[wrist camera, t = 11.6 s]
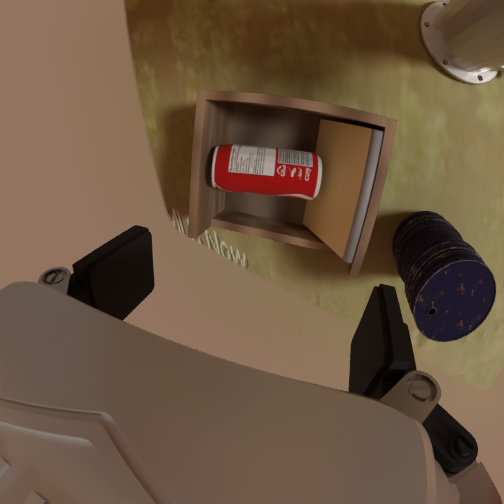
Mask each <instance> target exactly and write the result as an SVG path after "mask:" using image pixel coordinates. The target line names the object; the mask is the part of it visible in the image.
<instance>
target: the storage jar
mask: <svg viewBox="0 0 504 504" xmlns="http://www.w3.org/2000/svg"><path fill="white" fill-rule="evenodd" d="M392 248H393V254H394V258H395V262H396V266H397V269H398V273H399V275H400V277H401V279H402V280H403V282H404V283H405V293H406V297H407V300H408V303H409V307H410V309H411V312H412V314H413V317H414V321H415V324H416V326H417V328H418V330H419V331H420V333H421V334H422V335H423V336H425V337H426V338H428V339H430V340H433V341H438V342H449V341H454V340H457V339H460V338H463V337H465V336H467V335H468V334H470V333H471V332H473V331H474V330H475V329H477V328H478V327H479V326H480V325H481V324H482V323H483V322H484V320H485V319H486V318H487V316H488V315H489V313H490V311H491V309H492V307H493V304H494V301H495V297H496V282H495V278H494V276H493V274H492V272H491V271H490V269H489V268H488V267H487V266H486V265H485V263H484V261H483V260H482V258H481V257H480V256H479V254H478V253H477V252H476V251H475V250H474V248H473V247H472V246H471V245H469V244H468V243H466V242H464V241H463V239H462V237H461V235H460V234H459V232H458V231H457V230H456V229H455V228H454V227H453V226H452V225H451V224H450V223H449V222H448V221H446V220H445V219H444V218H443V217H442V216H440V215H439V214H437V213H434V212H430V211H421V212H417V213H414V214H412V215H410V216H408V217H407V218H406V219H405V220H404V221H403V222H402V223H401V224H400V225H399V227H398V228H397V230H396V232H395V235H394V238H393V244H392Z"/></svg>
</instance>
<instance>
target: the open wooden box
mask: <svg viewBox="0 0 504 504" xmlns="http://www.w3.org/2000/svg"><path fill="white" fill-rule="evenodd" d="M320 119H324V120H330V121H335V122H341V123H346V124H351V125H356V126H361V127H365V128H370V129H374V130H378V131H382V132H384V135H383V140H382V146H381V151H380V156H379V161H378V166H377V171H376V175H375V180H374V184H373V188H372V193H371V197H370V201H369V205H368V209H367V213H366V217H365V221H364V224H363V228H362V232H361V235H360V239H359V242H358V246H357V249H356V253H355V256H354V259H353V262H352V263H349V275H350V276H354V277H358V275H359V272H360V269H361V266H362V263H363V260H364V257H365V254H366V250H367V247H368V244H369V240H370V237H371V233H372V230H373V226H374V223H375V219H376V216H377V212H378V208H379V204H380V200H381V196H382V192H383V188H384V184H385V179H386V175H387V170H388V166H389V161H390V156H391V151H392V146H393V141H394V135H395V130H396V124H397V120H395V119H391V118H388V117H384V116H380V115H377V114H373V113H369V112H365V111H361V110H356V109H352V108H348V107H343V106H338V105H333V104H328V103H323V102H317V101H312V100H306V99H299V98H292V97H285V96H277V95H268V94H258V93H247V92H232V91H210V90H198V92H197V102H196V112H195V123H194V134H193V147H192V162H191V178H190V198H189V227H188V237H190V238H194V239H196V238H197V237H198V236H200V235H201V234H202V233H203V232H204V231H205V230H207V229H208V228H209V227H210V226H214V227H218V228H223V229H227V230H232V231H236V232H241V233H245V234H250V235H254V236H259V237H263V238H267V239H272V240H276V241H281V242H285V243H289V244H294V245H298V246H302V247H306V248H311V249H315V250H319V251H323V252H328V253H332V254H336V253H335V252H334V251H333V250H332V249H331V248H330V247H329V246H328V245H326V244H325V243H324V242H323V241H322V240H321V239H320V238H319V237H317V236H316V235H315V234H314V233H313V232H312V231H311V230H309V229H308V228H307V227H306V226H305V225H304V224H303V218H304V213H305V208H306V202H307V200H306V199H298V198H290V197H281V196H271V195H262V194H252V193H241V192H229V191H224V190H221V189H219V188H214V187H213V185H212V164H213V157H214V152H215V149H216V147H217V146H221V145H227V144H239V145H252V146H263V147H272V148H282V149H290V150H298V151H305V152H312V153H315V151H316V145H317V139H318V132H319V126H320ZM336 255H338V254H336Z"/></svg>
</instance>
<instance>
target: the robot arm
mask: <svg viewBox="0 0 504 504" xmlns="http://www.w3.org/2000/svg"><path fill="white" fill-rule="evenodd" d="M426 26H427V27H426ZM420 31H421V36H422V39H423V42H424V44H425V46H426V49H427V50H428V52H429V54H430V55H431V57H432V58H433V59H434V60H435V62H436V63H437V64H438V65H439V66H440V67H441V68H442V69H443V70H444V71H445V72H447V73H448V74H449V75H451V76H452V77H454V78H456V79H457V80H459V81H462V82H464V83H467V84H474V85H476V84H483V83H487V82H489V81H491V80H492V79H493V78H494V77H495V76H496V75H497V73H498V71H499V70H501V71H502V72H504V0H450V1H438V2H434V3H433V4H431V5H429V6H428V7H427V8H426V9H425V11H424V12H423V14H422V17H421V20H420ZM443 62H444V64H445V65H444V64H443ZM478 79H479V80H478ZM72 266H73V271H74V273H73V274H71V273H70V271H69V270H68V269H67V268H64V267H56V268H52V269H49V270H47V271H45V272H44V273H43V274H42V275H41V276H40V278H39V280H38V283H35V282H14V283H12V284H10V285H8V286H6V287H4V288H3V289H1V290H0V504H502V500H501V497H500V495H499V493H498V491H497V489H496V487H495V485H494V483H493V482H492V480H491V478H490V476H489V474H488V472H487V471H486V469H485V467H484V466H483V464H482V462H480V463H477V461H476V460H475V459H476V457H477V453H478V447H477V443H476V440H475V438H474V437H473V436H472V435H471V434H470V433H469V432H468V431H467V430H466V429H465V428H464V427H463V426H462V425H461V424H460V423H459V422H457V421H456V420H455V419H454V418H453V417H452V416H451V415H450V414H449V413H447V411H446V410H444V409H443V408H442V407H441V406H440V405H439V404H438V401H439V399H440V397H441V389H440V386H439V384H438V383H437V381H436V380H435V379H434V378H433V377H432V376H431V375H429V374H427V373H425V372H422V371H417V370H416V364H415V358H414V353H413V348H412V343H411V339H410V334H409V330H408V326H407V324H405V323H403V319H402V314H401V310H400V306H399V302H398V298H397V294H396V290H395V287H393V286H388V285H384V284H380V285H379V287H376V286H375V287H374V288H373V291H372V293H371V296H370V299H369V301H368V304H367V306H366V308H365V311H364V313H363V316H362V318H361V321H360V323H359V325H358V328H357V330H356V332H355V334H354V337H353V339H352V342H351V353H350V376H349V392H347V391H342V390H338V389H334V388H330V387H325V386H321V385H317V384H313V383H309V382H304V381H300V380H296V379H292V378H288V377H284V376H280V375H276V374H273V373H269V372H265V371H262V370H258V369H255V368H252V367H248V366H245V365H241V364H238V363H235V362H232V361H228V360H225V359H222V358H219V357H216V356H213V355H210V354H207V353H204V352H201V351H199V350H196V349H193V348H190V347H187V346H185V345H182V344H179V343H176V342H174V341H171V340H169V339H166V338H163V337H161V336H158V335H156V334H153V333H151V332H148V331H146V330H143V329H141V328H139V327H136V326H134V325H131V324H129V323H127V322H124V321H123V320H124V319H125V318H126V317H127V316H128V315H129V314H130V313H131V312H132V311H133V310H134V309H135V308H136V307H137V306H138V305H139V304H140V303H141V302H142V301H143V300H144V299H145V298H146V297H147V296H148V295H149V294H150V293H151V292H152V290H153V288H154V271H153V255H152V235H151V233H150V232H149V230H148V228H146V227H141V226H137V225H135V226H133V227H131V228H130V229H128V230H126V231H125V232H123V233H121V234H120V235H119V236H116V237H115V238H113V239H112V240H110V241H108V242H107V243H105V244H104V245H102V246H100V247H99V248H97V249H96V250H94V251H93V252H91V253H90V254H88V255H86V256H85V257H83V258H82V259H81V260H79V261H77V262H76V263H74V264H73V265H72Z"/></svg>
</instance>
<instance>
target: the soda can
mask: <svg viewBox="0 0 504 504" xmlns="http://www.w3.org/2000/svg"><path fill="white" fill-rule="evenodd" d="M321 178H322V160H321V158H320V157H319V156H318V155H317V154H316V153H312V152H305V151H298V150H290V149H282V148H272V147H263V146H252V145H239V144H227V145H221V146H217V147H216V149H215V152H214V157H213V164H212V185H213V187H214V188H219V189H221V190H224V191H229V192H241V193H252V194H262V195H271V196H281V197H290V198H298V199H306V200H312V199H313V198H314V197H317V195H318V192H319V189H320V184H321Z"/></svg>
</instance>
